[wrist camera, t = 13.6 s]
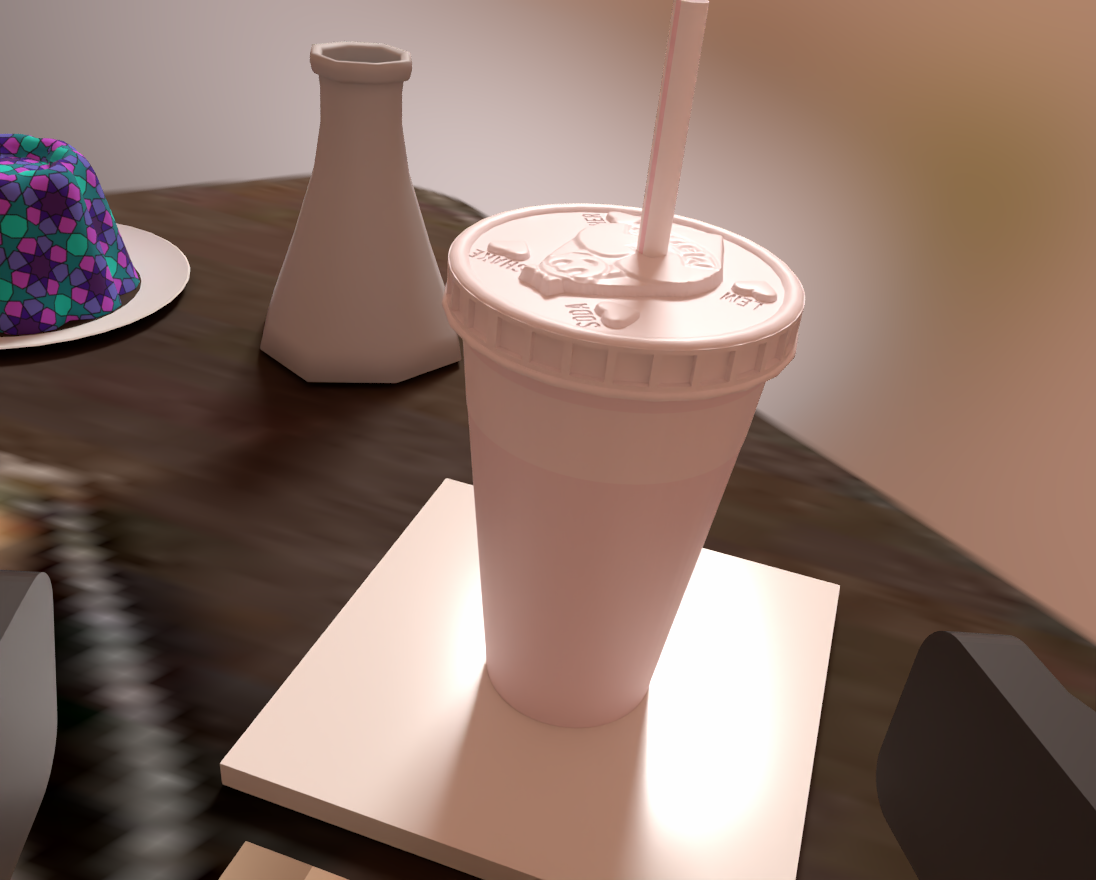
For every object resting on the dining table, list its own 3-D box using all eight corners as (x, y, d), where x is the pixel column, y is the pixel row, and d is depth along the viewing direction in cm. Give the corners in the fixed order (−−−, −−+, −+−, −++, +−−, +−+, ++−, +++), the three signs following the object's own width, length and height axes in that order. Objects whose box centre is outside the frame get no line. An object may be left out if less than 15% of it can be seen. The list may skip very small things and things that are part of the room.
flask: (287, 407, 33) (273, 83, 28) (236, 312, 38) (216, 26, 33) (495, 375, 36) (517, 79, 31) (421, 292, 41) (429, 27, 36)
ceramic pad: (222, 784, 21) (219, 763, 20) (445, 495, 30) (446, 478, 29) (775, 985, 18) (782, 965, 18) (834, 603, 27) (839, 585, 27)
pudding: (258, 291, 41) (251, 158, 38) (-28, 409, 32) (-66, 247, 29) (57, 213, 46) (37, 90, 43) (-242, 296, 37) (-291, 148, 34)
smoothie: (770, 700, 23) (964, 38, 16) (537, 833, 20) (646, 59, 12) (590, 544, 27) (676, -37, 20) (371, 630, 24) (378, -37, 16)
